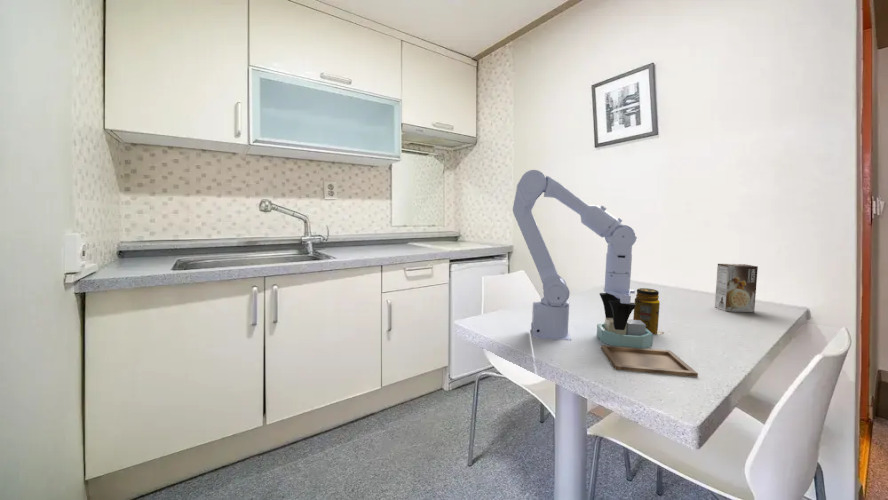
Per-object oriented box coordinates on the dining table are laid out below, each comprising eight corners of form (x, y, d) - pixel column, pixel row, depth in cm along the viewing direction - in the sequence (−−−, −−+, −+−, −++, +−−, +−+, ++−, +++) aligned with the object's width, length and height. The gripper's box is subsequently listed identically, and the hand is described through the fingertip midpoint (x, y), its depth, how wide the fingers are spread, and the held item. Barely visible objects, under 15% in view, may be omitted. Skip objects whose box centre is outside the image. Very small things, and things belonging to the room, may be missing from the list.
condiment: (664, 333, 95) (667, 290, 94) (648, 338, 91) (651, 294, 89) (637, 326, 101) (639, 286, 100) (621, 331, 97) (624, 289, 95)
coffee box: (742, 308, 124) (746, 264, 122) (754, 312, 117) (759, 266, 116) (713, 306, 125) (717, 263, 124) (724, 311, 119) (728, 265, 117)
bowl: (604, 348, 83) (605, 334, 83) (593, 332, 94) (594, 320, 94) (657, 352, 81) (658, 338, 81) (639, 336, 92) (640, 323, 92)
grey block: (622, 337, 89) (623, 319, 89) (639, 339, 88) (640, 320, 88) (626, 343, 85) (628, 323, 85) (644, 344, 84) (645, 324, 84)
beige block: (608, 341, 86) (609, 322, 86) (604, 336, 90) (605, 317, 90) (625, 342, 86) (626, 323, 85) (620, 337, 90) (621, 318, 89)
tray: (615, 371, 70) (615, 366, 70) (600, 350, 82) (601, 345, 82) (697, 379, 68) (697, 373, 67) (670, 355, 79) (670, 350, 79)
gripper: (646, 277, 79) (642, 335, 80) (625, 268, 93) (622, 317, 94) (613, 276, 80) (609, 332, 81) (598, 267, 94) (595, 316, 95)
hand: (614, 324), depth 88 cm, fingers open, 7 cm apart
